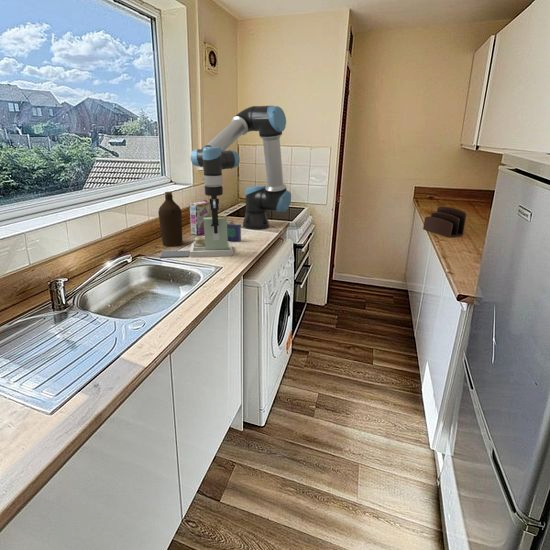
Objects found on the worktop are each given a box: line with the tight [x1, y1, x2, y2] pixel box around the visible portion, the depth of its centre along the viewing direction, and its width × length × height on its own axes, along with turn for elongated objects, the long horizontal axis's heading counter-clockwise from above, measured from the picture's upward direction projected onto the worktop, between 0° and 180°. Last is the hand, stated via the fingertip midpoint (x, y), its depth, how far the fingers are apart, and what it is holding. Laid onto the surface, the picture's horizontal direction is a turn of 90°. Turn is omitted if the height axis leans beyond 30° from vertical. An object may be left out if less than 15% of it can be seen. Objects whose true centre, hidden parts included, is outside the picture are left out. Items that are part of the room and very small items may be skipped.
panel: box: [203, 216, 229, 250], centre depth 165 cm, size 10×3×14 cm, turn 98°
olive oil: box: [158, 191, 184, 247], centre depth 177 cm, size 11×11×25 cm
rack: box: [189, 241, 233, 258], centre depth 171 cm, size 18×14×2 cm
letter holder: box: [422, 205, 467, 239], centre depth 210 cm, size 10×20×14 cm, turn 25°
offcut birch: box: [194, 236, 205, 246], centre depth 172 cm, size 6×4×3 cm
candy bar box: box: [189, 201, 211, 236], centre depth 199 cm, size 11×5×16 cm, turn 149°
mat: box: [159, 250, 190, 259], centre depth 166 cm, size 12×8×1 cm, turn 98°
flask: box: [227, 219, 242, 243], centre depth 187 cm, size 9×3×11 cm, turn 75°
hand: (216, 238), depth 166 cm, fingers closed on panel, 3 cm apart
